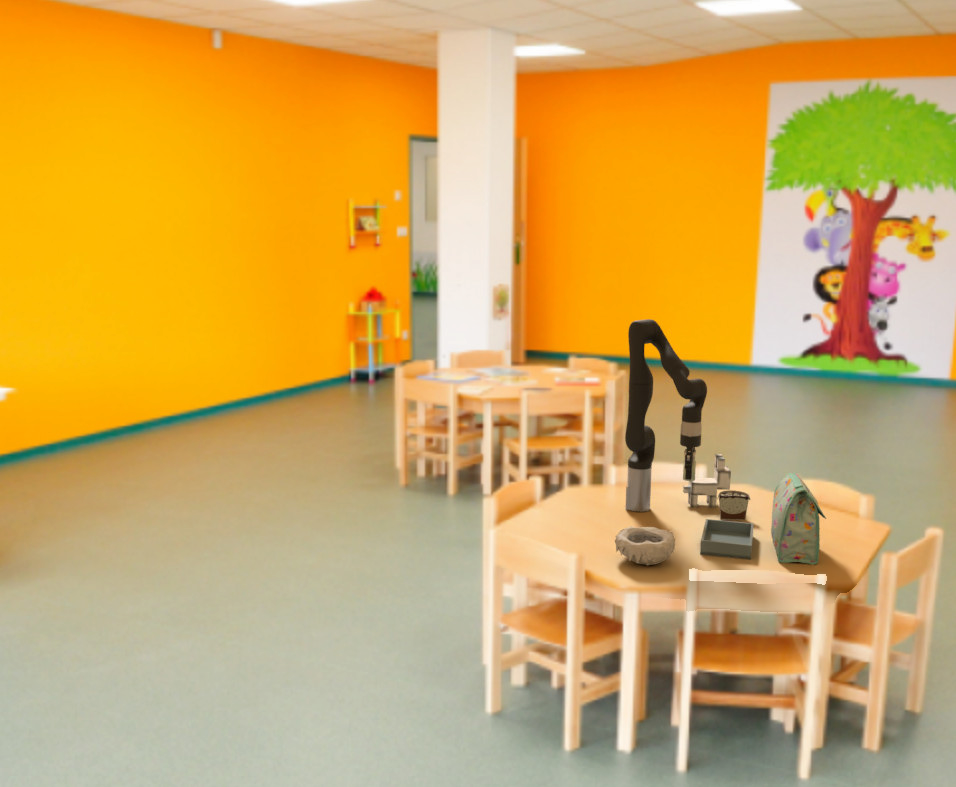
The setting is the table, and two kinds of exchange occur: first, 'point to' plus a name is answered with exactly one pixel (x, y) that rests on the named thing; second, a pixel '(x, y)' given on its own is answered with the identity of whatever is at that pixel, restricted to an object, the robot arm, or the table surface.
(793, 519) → the lunch bag
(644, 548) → the bowl
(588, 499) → the table surface
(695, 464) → the sage cylinder
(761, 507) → the table surface
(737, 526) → the bin
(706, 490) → the toy llama
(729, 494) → the food container
